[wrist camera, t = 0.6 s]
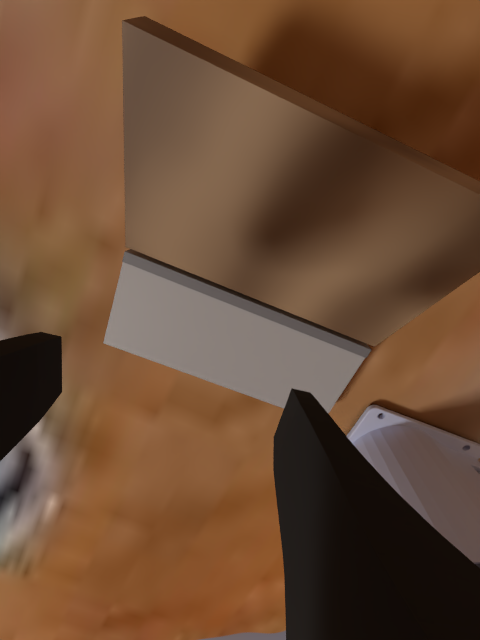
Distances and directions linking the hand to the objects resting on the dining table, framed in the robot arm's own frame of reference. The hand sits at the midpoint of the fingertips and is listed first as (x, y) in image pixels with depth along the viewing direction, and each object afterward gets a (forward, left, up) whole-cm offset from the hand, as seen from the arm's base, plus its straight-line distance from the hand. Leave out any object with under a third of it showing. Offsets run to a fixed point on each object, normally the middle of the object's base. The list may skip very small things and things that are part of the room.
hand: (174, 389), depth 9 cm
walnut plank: (-2, -6, -7) cm, 9 cm away
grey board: (-2, +2, -9) cm, 10 cm away
